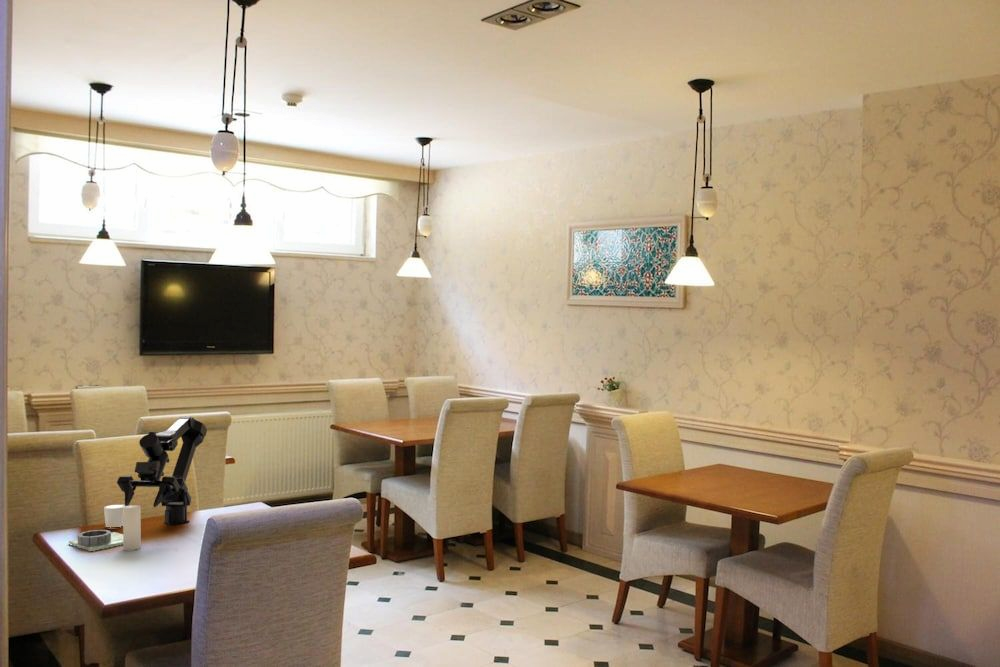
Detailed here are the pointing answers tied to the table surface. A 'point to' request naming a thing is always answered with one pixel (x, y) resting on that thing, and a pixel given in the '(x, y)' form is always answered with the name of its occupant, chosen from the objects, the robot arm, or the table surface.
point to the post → (131, 527)
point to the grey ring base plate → (98, 540)
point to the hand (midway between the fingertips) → (140, 506)
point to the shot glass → (114, 515)
